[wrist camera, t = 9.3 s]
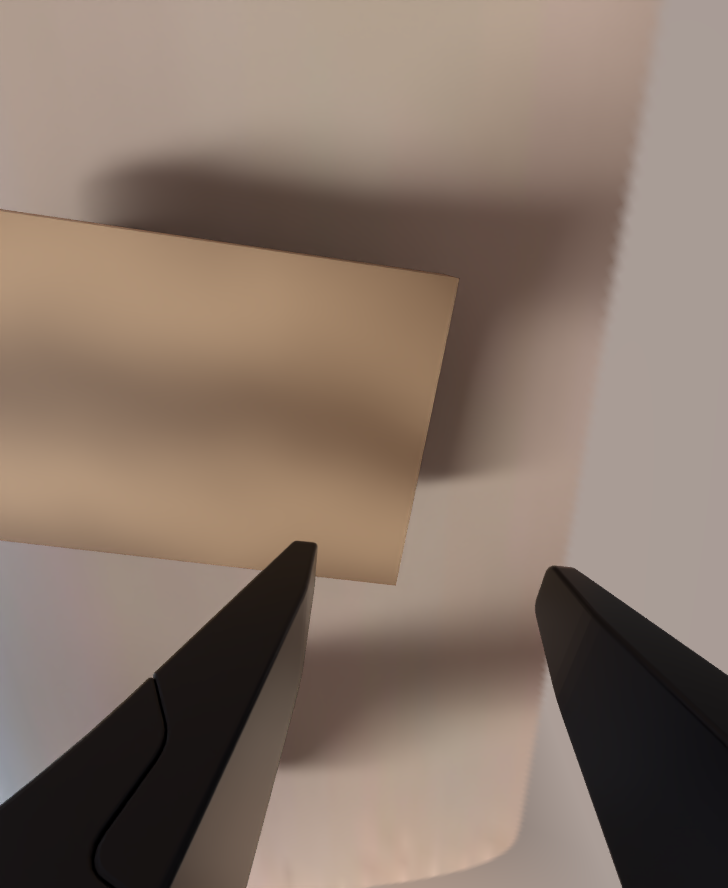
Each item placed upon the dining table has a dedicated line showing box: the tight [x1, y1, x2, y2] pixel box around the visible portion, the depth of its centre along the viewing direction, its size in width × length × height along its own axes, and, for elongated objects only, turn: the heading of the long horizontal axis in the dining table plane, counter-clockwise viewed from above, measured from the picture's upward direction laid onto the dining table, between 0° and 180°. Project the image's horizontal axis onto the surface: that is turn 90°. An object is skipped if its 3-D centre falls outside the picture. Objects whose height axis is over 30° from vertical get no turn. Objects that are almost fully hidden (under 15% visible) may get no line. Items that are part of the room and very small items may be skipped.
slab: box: [0, 209, 459, 585], centre depth 14 cm, size 10×14×2 cm
